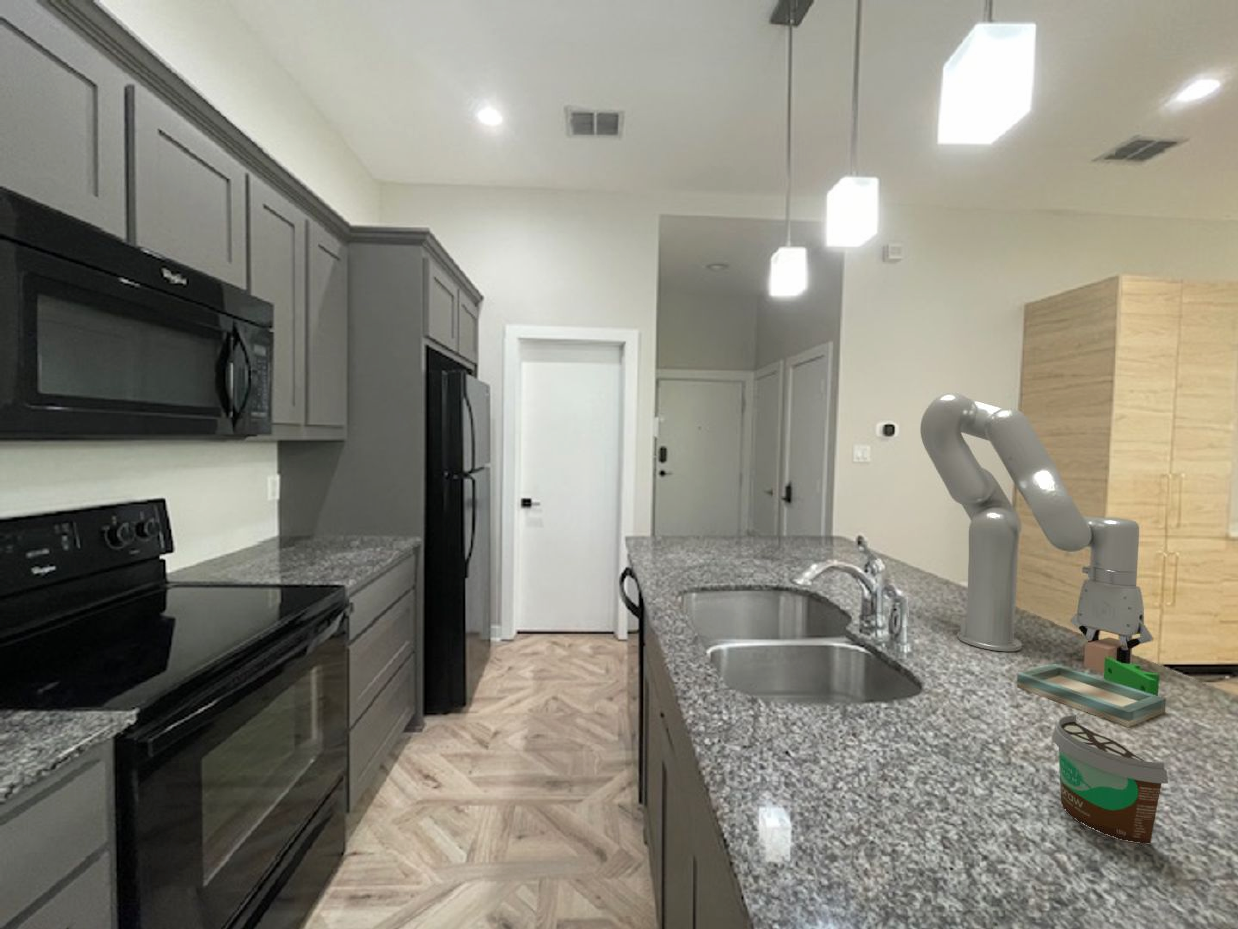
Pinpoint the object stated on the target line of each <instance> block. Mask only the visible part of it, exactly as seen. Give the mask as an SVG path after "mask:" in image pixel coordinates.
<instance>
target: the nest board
mask: <svg viewBox="0 0 1238 929" xmlns="http://www.w3.org/2000/svg"><path fill="white" fill-rule="evenodd" d="M1016 675H1017V676H1016V687H1017V688H1019V689H1021V690H1024V691H1027V692H1030V693H1033V694H1035V695H1039V696H1041V697H1042V698H1043V697H1044V698H1046V699H1050V700H1052V701H1055V702H1058V703H1060V704H1062V705H1066V706H1068V707H1071V708H1074V709H1077V710H1078V711H1079V710H1080V711H1083V712H1084V711H1085V713H1087V712H1088V713H1087V714H1091V715H1093V716H1095V715H1096V717H1098V718H1101V719H1104V718H1105V719H1104V720H1106V719H1108V720H1107V721H1109V720H1110V721H1109V722H1112V723H1114V724H1118V725H1120V724H1121V725H1120V726H1123V727H1126V728H1130V727H1134V726H1135V725H1138V724H1141V723H1144V722H1147V721H1148V720H1150V718H1151V719H1153V718H1155V717H1158V716H1161V715H1162V714H1165V713H1166V706H1167V705H1166V703H1167V698H1166V697H1162V696H1159V695H1158V696H1156V695H1153V694H1150V693H1146V692H1143V691H1140V690H1137V689H1134V688H1131V687H1127V686H1124V685H1121V684H1118V683H1115V682H1111V681H1108V680H1105V679H1104V678H1101V677H1099V676H1095V675H1092V674H1089V673H1085V672H1083V671H1079V670H1077V669H1073V668H1070V667H1066V666H1063V665H1060V664H1056V663H1051V664H1049V665H1045V666H1043V667H1038V668H1035V669H1030V670H1027V671H1023V672H1019V673H1017V674H1016Z"/></svg>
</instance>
